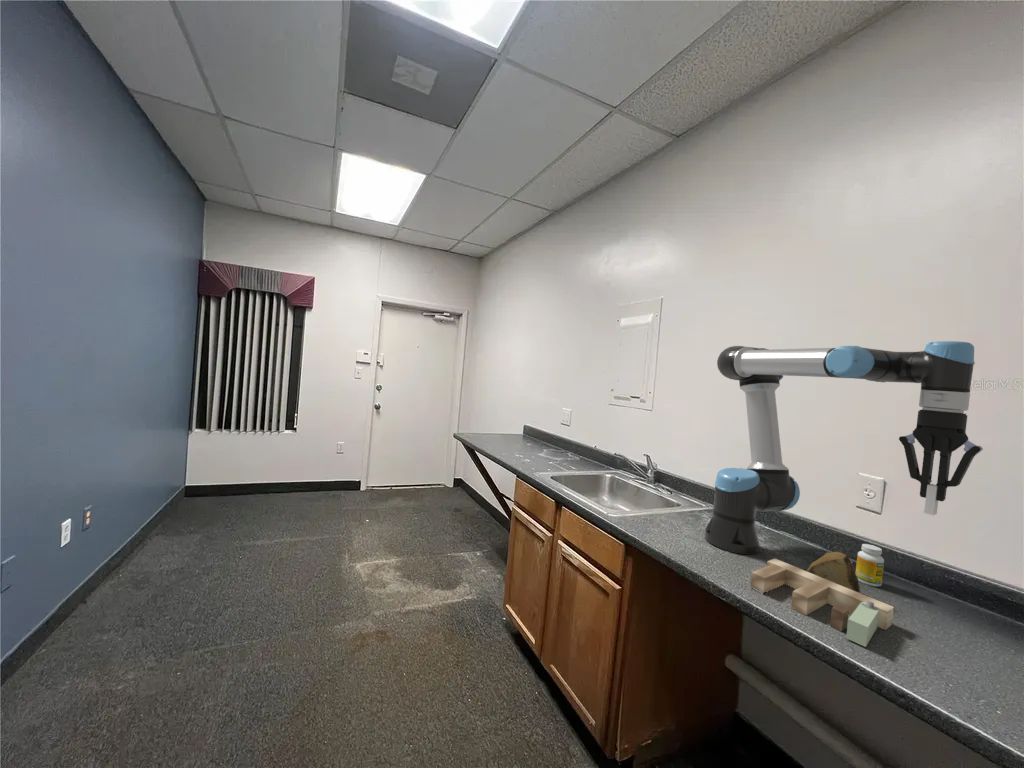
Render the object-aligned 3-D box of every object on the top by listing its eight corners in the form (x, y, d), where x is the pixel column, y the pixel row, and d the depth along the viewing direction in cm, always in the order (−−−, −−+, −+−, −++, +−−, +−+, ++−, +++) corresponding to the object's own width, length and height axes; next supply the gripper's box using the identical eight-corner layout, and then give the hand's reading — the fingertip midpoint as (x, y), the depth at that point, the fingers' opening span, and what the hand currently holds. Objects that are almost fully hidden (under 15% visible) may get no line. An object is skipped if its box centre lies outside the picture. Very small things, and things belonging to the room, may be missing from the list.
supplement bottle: (858, 574, 110) (862, 541, 109) (884, 584, 105) (888, 549, 105) (851, 579, 107) (855, 544, 106) (878, 589, 102) (882, 553, 102)
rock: (792, 568, 105) (833, 583, 96) (805, 540, 108) (846, 552, 98) (816, 590, 107) (858, 607, 98) (828, 563, 110) (870, 577, 100)
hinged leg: (860, 618, 88) (862, 597, 87) (878, 625, 85) (880, 604, 85) (846, 638, 80) (848, 615, 80) (865, 647, 77) (868, 623, 77)
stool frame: (743, 584, 99) (745, 569, 99) (773, 572, 107) (774, 558, 107) (867, 645, 78) (869, 625, 78) (891, 624, 86) (894, 607, 86)
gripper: (897, 406, 92) (886, 505, 93) (983, 414, 81) (970, 526, 82) (907, 407, 96) (896, 502, 97) (990, 414, 85) (977, 521, 86)
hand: (930, 513), depth 89 cm, fingers closed
